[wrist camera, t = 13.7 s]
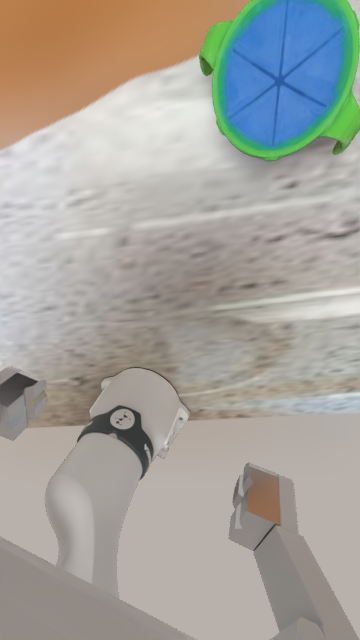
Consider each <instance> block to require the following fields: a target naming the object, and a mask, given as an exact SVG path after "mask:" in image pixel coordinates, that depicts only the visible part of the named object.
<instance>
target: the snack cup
mask: <svg viewBox="0 0 360 640" xmlns="http://www.w3.org/2000/svg"><path fill="white" fill-rule="evenodd" d="M358 30H359V22H358V19H357V16H356V14H355V11H352V8H351V6H350V4H349V2H348V1H347V0H251V1H250V2H249V3H248V4H247V5H246V6H245V7H244V9H243V10H242V11H241V12H240V13H239V15H238V16H237V18H236V19H235V20H233V21H229V22H222V23H220V22H218V23H217V24H216V25H213V26H212V27H211V28H210V29H209V31H208V33H207V35H206V39H205V42H204V45H203V47H202V48H201V51H200V55H199V59H200V66H201V69H202V72H203V74H204V75H206V76H208V75H210V74H211V73H212V71H214V74H213V83H212V97H213V106H214V111H215V114H216V117H217V121H216V123H217V125H218V128H219V130H220V132H221V133H222V134H223V135H225V136H226V137H227V138H228V140H229V141H230V142H231V143H232V144H233V145H234V146H235V147H236V148H237V149H238V150H240V151H241V152H243V153H245V154H247V155H249V156H252V157H256V158H262V159H264V160H265V161H273V160H278V159H279V158H281V157H284V156H287V155H290V154H292V153H294V152H297V151H299V150H300V149H302V148H304V147H305V146H307V145H308V144H310V143H311V142H312V141H314V140H315V139H317V138H319V137H329V138H333V139H335V140H338V141H337V143H336V145H335V147H334V149H333V154H335V155H336V154H339V153H341V152H343V151H344V150H345V149H346V148H347V147H348V145H349V144H350V143H351V141H352V140H353V138H354V137H355V135H356V134H357V133H358V132H359V130H360V109H359V106H358V104H357V102H356V100H355V98H354V96H353V93H352V84H353V81H354V78H355V74H356V71H357V65H358V60H359V50H360V45H359V32H358Z"/></svg>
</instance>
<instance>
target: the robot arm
mask: <svg viewBox="0 0 360 640" xmlns="http://www.w3.org/2000/svg"><path fill="white" fill-rule="evenodd" d="M101 387H102V393H101V394H100V396H99V397H98V399H97V400H96V402H95V403H94V405H93V406H92V407H91V409H90V418H91V420H90V422H89V423H88V424H87V425H86V426H85V428H84V429H83V430H82V432H81V435H80V436H79V437H78V440H77V444H76V445H75V447H74V448H73V449H72V451H71V452H70V454H69V455H68V456H67V457H66V459H65V460H64V462H63V463H62V464H61V466H60V467H59V468H58V470H57V471H56V472H55V474H54V475H53V476H52V478H51V479H50V481H49V483H48V486H47V489H46V493H45V507H46V512H47V516H48V518H49V521H50V524H51V526H52V528H53V530H54V532H55V534H56V537H57V540H58V545H59V555H58V561H57V564H56V566H55V565H53V564H52V563H50V562H48V561H46V560H44V559H42V558H40V557H38V556H36V555H34V554H32V553H31V552H29V551H27V550H25V549H23V548H21V547H19V546H17V545H15V544H13V543H12V542H10V541H7V540H6V539H4V538H2V537H0V640H197V639H195V638H193V637H191V636H189V635H187V634H185V633H183V632H181V631H179V630H178V629H176V628H174V627H172V626H170V625H168V624H166V623H164V622H162V621H160V620H158V619H157V618H154V617H153V616H151V615H149V614H147V613H145V612H143V611H141V610H139V609H137V608H135V607H134V606H132V605H130V604H128V603H126V602H124V601H122V600H120V599H119V594H118V583H117V552H118V543H119V537H120V532H121V528H122V525H123V522H124V519H125V516H126V513H127V510H128V507H129V504H130V502H131V499H132V497H133V494H134V492H135V489H136V487H137V485H138V482H139V480H141V479H142V478H143V476H144V475H145V473H146V472H147V470H148V468H149V466H150V464H151V463H152V461H153V460H154V459H155V457H156V456H157V455H158V456H160V457H161V458H165V457H166V455H167V452H168V450H169V446H170V445H171V443H172V441H173V440H174V439H175V437H176V436H177V434H178V433H179V432H180V430H181V429H182V427H183V426H184V424H185V422H186V421H187V420H188V418H189V416H190V412H189V410H188V409H187V408H186V407H185V406H184V405H183V404H182V403H181V401H180V399H179V397H178V395H177V393H176V391H175V390H174V388H173V387H172V386H171V384H170V383H169V382H168V381H166V380H165V379H164V378H163V377H161V376H160V375H158V374H156V373H154V372H152V371H149V370H146V369H141V368H131V369H126V370H124V371H122V372H120V373H119V374H118V375H116V376H114V377H108V378H105V379H104V380H103V381H102V383H101ZM45 388H46V381H44V380H42V379H40V378H38V377H35V376H33V375H31V374H28V373H26V372H24V371H22V370H19V369H17V368H14V367H12V366H11V367H8V368H5V369H4V370H2V371H1V372H0V436H2V437H5V438H7V439H9V440H12V441H13V440H15V439H16V438H17V437H18V435H20V434H21V433H22V432H23V431H24V430H25V429H26V428H27V425H28V421H30V420H33V419H35V418H37V417H38V416H39V415H40V414H41V413H42V411H43V409H44V408H45V406H46V403H47V395H46V393H45V392H44V389H45ZM233 506H234V508H235V511H234V513H233V514H232V516H231V521H230V530H229V531H230V532H229V539H230V540H232V541H234V542H236V543H238V544H240V545H242V546H244V547H246V548H248V549H250V550H252V551H254V556H255V559H256V562H257V565H258V568H259V571H260V574H261V577H262V580H263V583H264V586H265V589H266V592H267V595H268V598H269V601H270V604H271V607H272V610H273V613H274V616H275V619H276V622H277V625H278V628H279V631H280V633H278V634H277V635H276V636H274V637H273V638H272V639H270V640H359V638H358V636H357V634H356V632H355V631H354V629H353V627H352V625H351V623H350V621H349V620H348V618H347V616H346V615H345V612H344V610H343V609H342V607H341V605H340V603H339V601H338V599H337V598H336V596H335V594H334V592H333V590H332V588H331V587H330V585H329V583H328V581H327V579H326V577H325V576H324V574H323V572H322V570H321V568H320V566H319V565H318V563H317V561H316V559H315V558H314V556H313V554H312V552H311V550H310V548H309V546H308V544H307V543H306V541H305V539H304V537H303V536H301V535H299V534H298V524H297V513H296V503H295V492H294V483H293V481H292V480H291V479H289V478H286V477H284V476H281V475H278V474H276V473H274V472H272V471H269V470H267V469H264V468H261V467H259V466H256V465H253V464H251V463H247V464H246V466H245V467H244V474H243V475H240V476H239V479H238V480H237V484H236V487H235V490H234V496H233Z"/></svg>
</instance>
